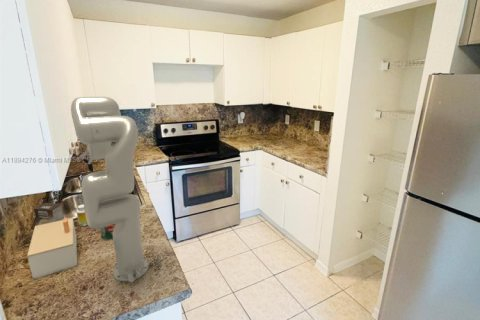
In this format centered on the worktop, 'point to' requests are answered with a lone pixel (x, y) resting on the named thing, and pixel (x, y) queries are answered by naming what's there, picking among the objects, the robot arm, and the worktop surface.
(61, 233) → the lid flap
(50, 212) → the coffee box
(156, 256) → the worktop surface
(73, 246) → the carton
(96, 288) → the worktop surface
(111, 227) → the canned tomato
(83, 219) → the supplement bottle
